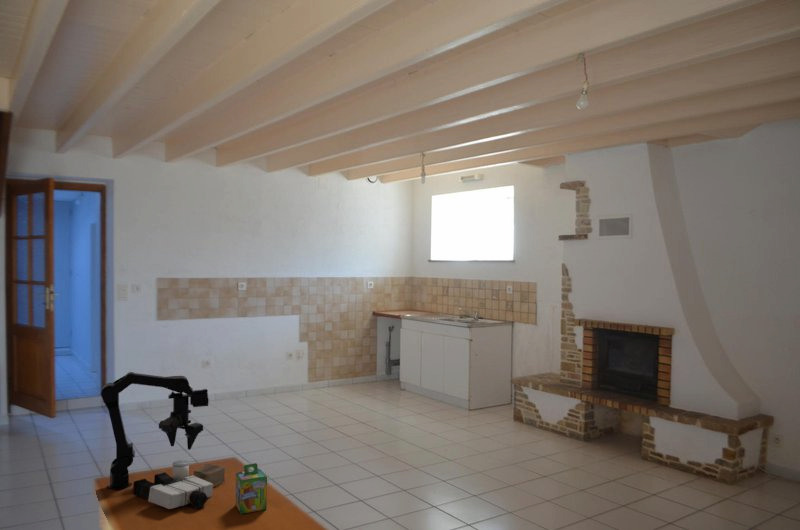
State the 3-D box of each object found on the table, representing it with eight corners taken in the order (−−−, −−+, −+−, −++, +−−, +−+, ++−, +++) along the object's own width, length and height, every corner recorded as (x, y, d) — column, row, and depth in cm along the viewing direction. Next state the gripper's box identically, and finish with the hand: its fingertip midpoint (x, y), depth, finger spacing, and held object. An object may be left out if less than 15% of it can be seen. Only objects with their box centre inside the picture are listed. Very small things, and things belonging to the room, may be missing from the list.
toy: (125, 498, 209) (179, 519, 193) (126, 478, 209) (180, 497, 193) (170, 485, 225) (224, 503, 209) (172, 467, 225) (225, 483, 209)
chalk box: (240, 515, 196) (240, 471, 196) (234, 505, 204) (235, 463, 204) (267, 509, 200) (267, 466, 200) (261, 500, 208) (261, 459, 208)
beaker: (168, 479, 229) (168, 464, 229) (181, 474, 234) (181, 459, 234) (180, 481, 226) (180, 466, 226) (192, 476, 232) (192, 461, 232)
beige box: (193, 486, 222) (193, 470, 222) (208, 479, 229) (208, 464, 229) (209, 489, 218) (209, 473, 218) (225, 482, 226) (225, 467, 226)
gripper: (147, 410, 227) (147, 450, 227) (182, 415, 218) (182, 457, 218) (170, 404, 237) (170, 442, 237) (204, 409, 228) (204, 449, 228)
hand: (180, 447), depth 230 cm, fingers open, 9 cm apart
